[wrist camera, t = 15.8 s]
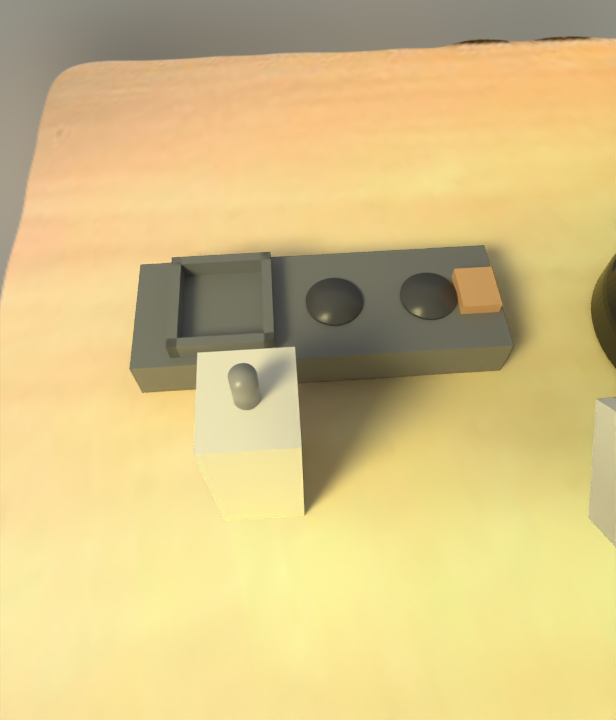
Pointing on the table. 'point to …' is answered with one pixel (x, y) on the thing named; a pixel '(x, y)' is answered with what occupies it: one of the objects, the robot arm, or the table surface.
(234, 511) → the white block with knob
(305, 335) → the power strip
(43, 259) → the table surface
